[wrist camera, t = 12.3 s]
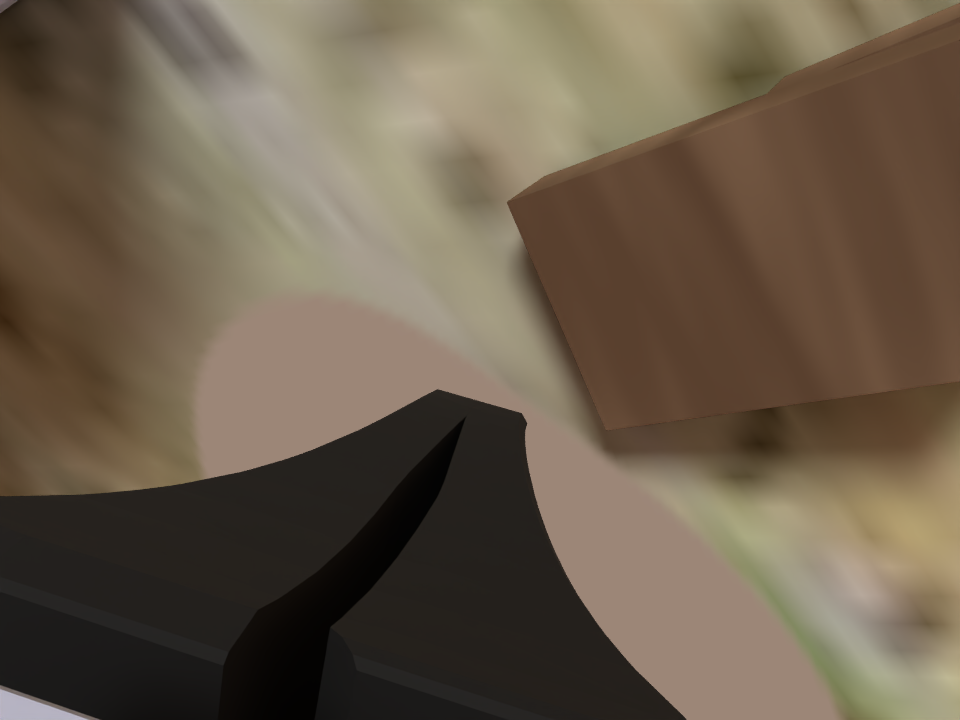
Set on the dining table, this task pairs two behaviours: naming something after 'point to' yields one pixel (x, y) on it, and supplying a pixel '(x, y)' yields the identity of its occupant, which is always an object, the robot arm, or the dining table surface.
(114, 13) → the dining table surface
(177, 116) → the dining table surface
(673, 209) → the domino
